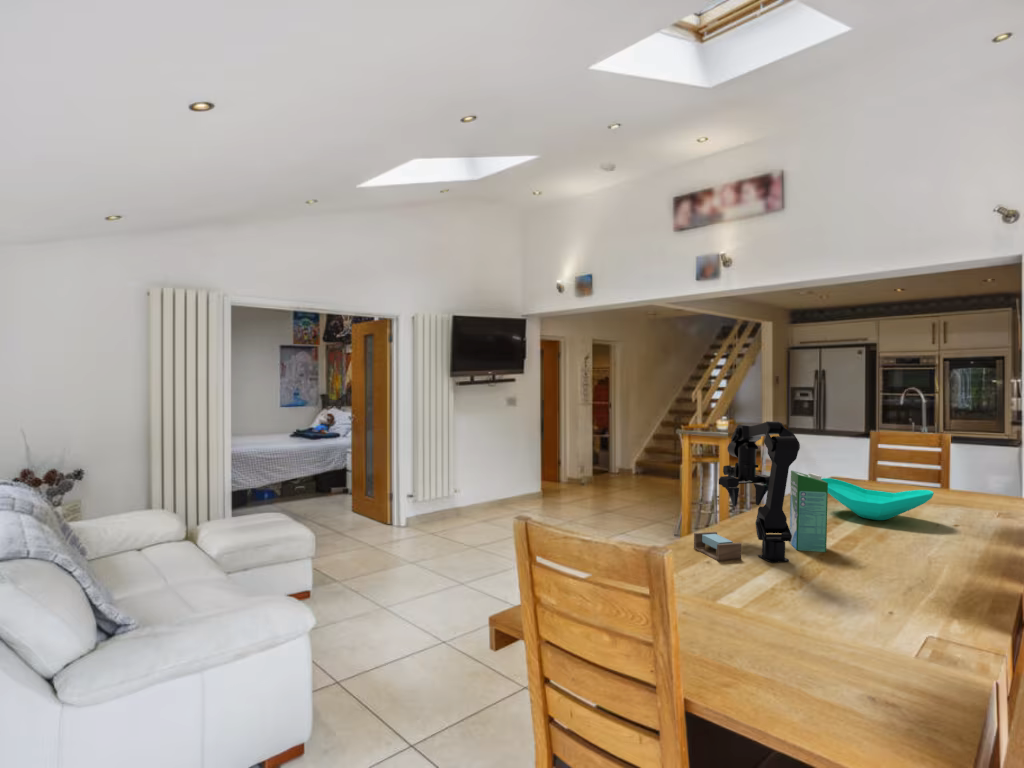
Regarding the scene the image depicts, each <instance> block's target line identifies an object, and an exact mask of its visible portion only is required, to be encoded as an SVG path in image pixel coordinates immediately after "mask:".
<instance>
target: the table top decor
mask: <svg viewBox="0 0 1024 768" xmlns="http://www.w3.org/2000/svg"><path fill="white" fill-rule="evenodd" d="M821 479H822V480H823V481H825V482H827V483H828V494H829V495H830V496H831V497H832V498H833V499H834V500H836V501H838V502H839V503H840V504H841V505H843V506H844V507H845V508H847V509H848V510H850V511H851V512H852V513H854V514H856V515H857V516H859V517H861V518H863V519H867V520H871V521H872V520H873V521H885V520H889V519H892V518H894V517H897V516H900V515H902V514H904V513H906V512H909V511H911V510H913V509H915V508H918V507H920V506H921V505H924V504H926V503H927V502H929V501H930V500H931V499H932V498H933V496H934V495H935V494H934V491H933V490H930V489H913V490H904V491H899V492H890V491H889V492H888V491H881V490H873V489H866V488H863V487H861V486H858V485H856V484H853V483H850V482H846V481H844V480H841V479H835V478H830V477H827V478H826V477H821Z"/></svg>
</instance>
